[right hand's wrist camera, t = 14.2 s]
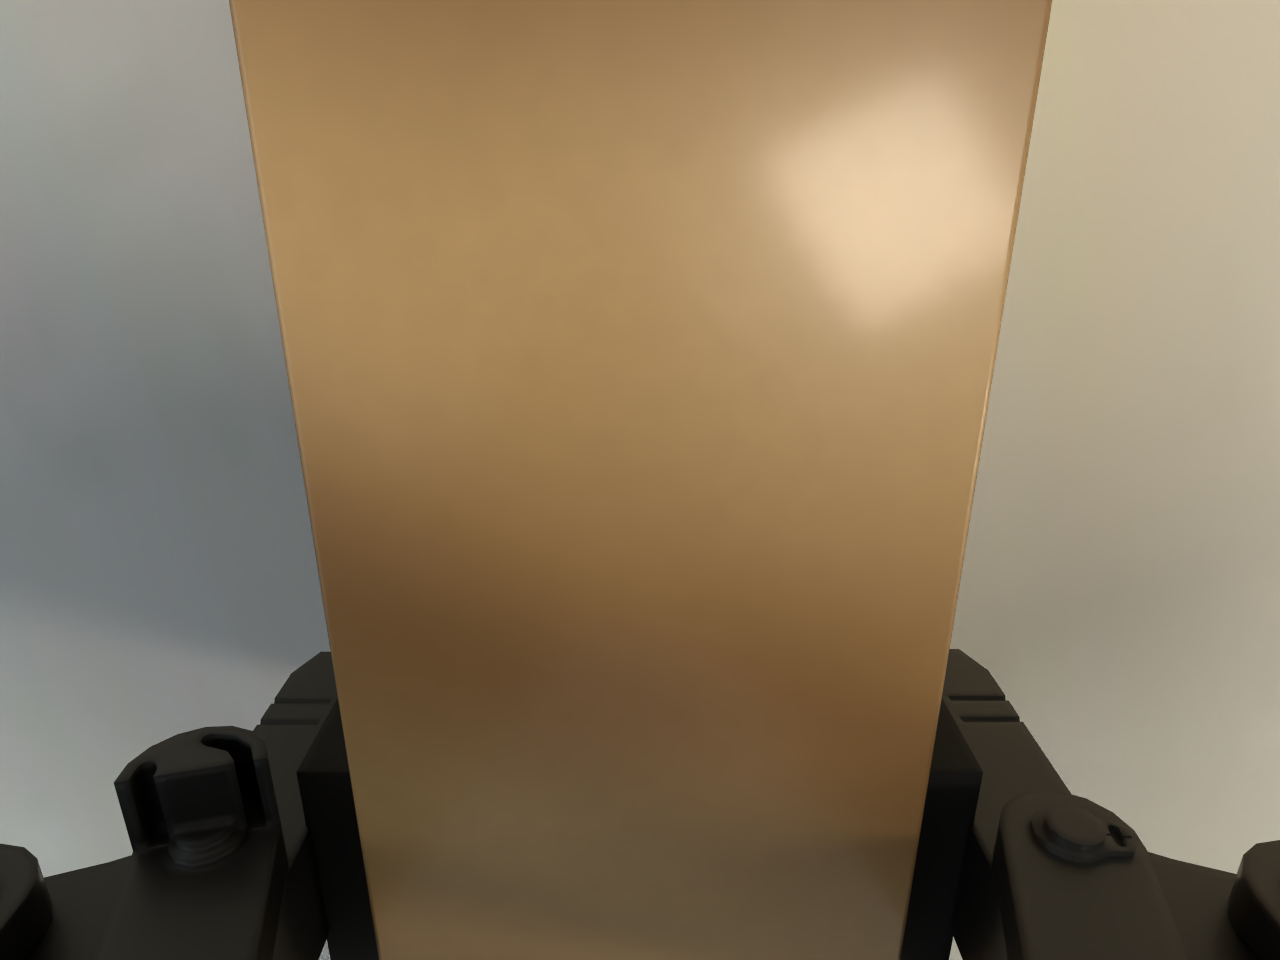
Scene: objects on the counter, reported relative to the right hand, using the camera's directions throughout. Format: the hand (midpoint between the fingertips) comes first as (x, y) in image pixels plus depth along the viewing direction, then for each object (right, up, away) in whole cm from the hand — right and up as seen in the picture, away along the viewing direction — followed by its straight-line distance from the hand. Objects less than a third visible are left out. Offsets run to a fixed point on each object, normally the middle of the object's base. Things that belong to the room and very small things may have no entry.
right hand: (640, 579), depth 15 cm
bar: (0, +31, -11) cm, 33 cm away
